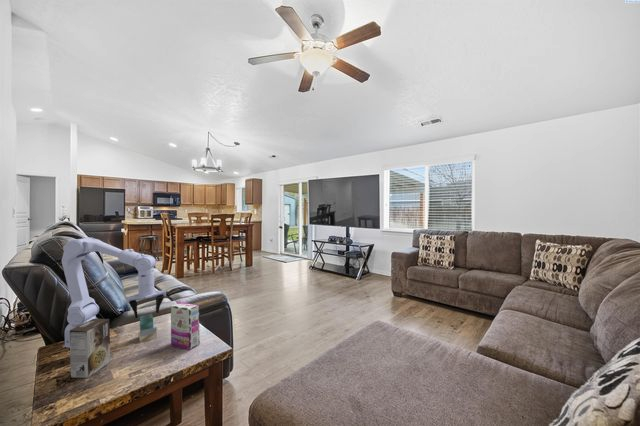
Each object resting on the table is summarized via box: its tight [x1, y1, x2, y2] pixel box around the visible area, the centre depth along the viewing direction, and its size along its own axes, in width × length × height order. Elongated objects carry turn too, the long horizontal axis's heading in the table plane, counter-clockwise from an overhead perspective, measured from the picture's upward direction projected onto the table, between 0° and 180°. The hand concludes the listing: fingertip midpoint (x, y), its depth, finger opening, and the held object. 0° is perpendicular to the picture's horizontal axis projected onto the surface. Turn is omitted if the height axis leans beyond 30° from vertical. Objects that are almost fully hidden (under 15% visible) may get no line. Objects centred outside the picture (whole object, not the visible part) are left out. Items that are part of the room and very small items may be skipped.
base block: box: [137, 331, 158, 343], centre depth 112 cm, size 6×6×2 cm
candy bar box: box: [170, 301, 200, 350], centre depth 106 cm, size 11×5×16 cm, turn 68°
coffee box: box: [69, 318, 112, 378], centre depth 90 cm, size 9×6×16 cm
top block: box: [139, 322, 157, 337], centre depth 112 cm, size 6×6×2 cm
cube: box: [139, 313, 154, 331], centre depth 112 cm, size 4×4×4 cm
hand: (146, 314), depth 112 cm, fingers open, 7 cm apart
